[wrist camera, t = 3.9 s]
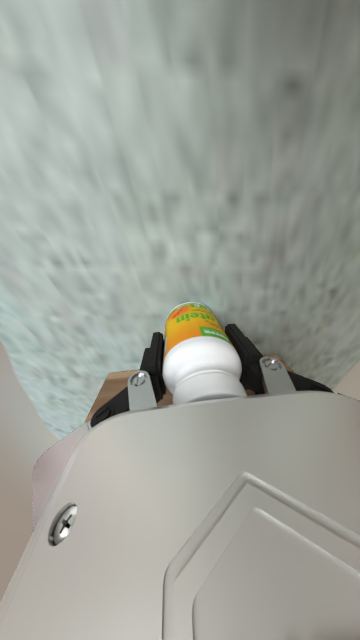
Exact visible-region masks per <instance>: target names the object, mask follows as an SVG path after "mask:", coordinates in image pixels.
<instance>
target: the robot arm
mask: <svg viewBox="0 0 360 640" xmlns="http://www.w3.org/2000/svg"><path fill="white" fill-rule="evenodd" d="M225 334H226V335H227V337H228V339H229V340H230V342H231V343H232V345H233V346H234V348H235V350H236V351H237V353H238V355H239V357H240V360H241V364H242V373H241V377H240V380H239V381H240V383H241V384H242V386H243V388H244V390H252V391H253V395H251V396H242V397H233V398H224V399H215V400H206V401H198V402H189V403H181V404H173V405H164V406H158V405H157V403H158V402H159V401H160V400H162V399H163V395H164V394H166V385H165V383H164V380H163V375H162V365H163V353H164V339H163V334H162V333H161V334H160V332H155V333H153V337H152V342H151V347H150V348H146V349H145V351H144V355H143V359H142V363H141V367H140V371H137V372H135V373H133V374H132V375H131V376H130V377H129V379H128V386H127V387H126V388H125V389H123V390H122V391H121V392H119V393H118V394H117V395H116V396H114V397H113V398H112V399H110V400H109V401H108V402H107V403H105V404H104V405H103V406H101V407H100V408H99V409H98V410H97V411H96V412H95V413H94V415H93V416H92V418H91V420H90V421H89V422H88V423H86V422H85V423H83V424H82V425H80V426H79V427H78V428H76V429H75V430H74V431H72V432H71V433H70V434H68V435H67V436H66V437H64V438H63V439H61V440H60V441H59V442H57V443H56V444H55V445H53V446H52V447H51V448H49V449H48V450H47V451H46V452H44V453H43V454H42V456H41V457H40V458H39V459H38V461H37V462H36V464H35V466H34V469H33V534H32V536H31V538H30V540H29V543H28V545H27V547H26V549H25V551H24V553H23V555H22V558H21V560H20V562H19V564H18V567H17V568H16V571H15V573H14V575H13V577H12V579H11V582H10V584H9V586H8V588H7V590H6V592H5V594H4V596H3V599H2V601H1V603H0V640H360V401H359V400H356V399H353V398H350V397H348V396H345V395H342V394H339V393H337V394H335V393H334V392H333V391H332V390H331V389H329V388H328V387H326V386H325V385H323V384H321V383H318V382H316V381H313V380H310V379H308V378H305V377H303V376H300V375H298V374H295V373H292V372H290V371H287V370H286V368H285V366H284V365H283V363H282V362H281V361H279V360H278V359H276V358H273V357H263V356H262V354H261V353H260V352H259V351H258V350H257V348H256V347H255V346H254V345H253V344H252V342H251V341H250V340H249V339H248V338H247V337H245V336H244V335H243V333H242V332H241V331H240V330H239V328H238V327H237V326H236V325H235V324H228V325H227V326H226V327H225Z"/></svg>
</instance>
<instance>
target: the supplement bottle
mask: <svg viewBox="0 0 360 640" xmlns="http://www.w3.org/2000/svg"><path fill="white" fill-rule="evenodd" d="M241 373H242V364H241V360H240V357H239V355H238V353H237V351H236V350H235V348H234V346H233V345H232V343H231V342H230V340H229V339H228V337H227V335H226V334H225V332H224V331H223V329H222V327H221V326H220V324H219V322H218V321H217V319H216V317H215V316H214V314H213V313H212V311H211V310H210V309H209V308H208V307H207V306H205V305H203V304H201V303H198V302H186V303H182V304H180V305H178V306H176V307H175V308H174V309H173V310H172V311H171V312H170V313H169V315H168V317H167V320H166V326H165V340H164V353H163V365H162V375H163V380H164V383H165V385H166V387H167V388H168V390H169V391H170V392H171V393H172V394H173V398H172V402H173V404H181V403H189V402H198V401H206V400H215V399H224V398H233V397H242V396H247V394H246V392H245V390H244V388H243V386H242V384H241V383H240V381H239V380H240V377H241Z"/></svg>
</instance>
